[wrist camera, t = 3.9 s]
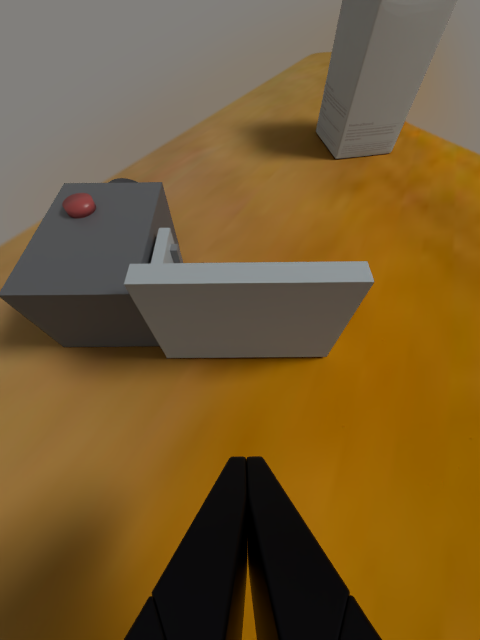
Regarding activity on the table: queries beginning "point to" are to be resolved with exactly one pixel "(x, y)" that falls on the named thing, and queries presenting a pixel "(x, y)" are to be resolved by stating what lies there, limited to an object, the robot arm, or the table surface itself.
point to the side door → (245, 304)
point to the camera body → (90, 263)
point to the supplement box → (377, 71)
